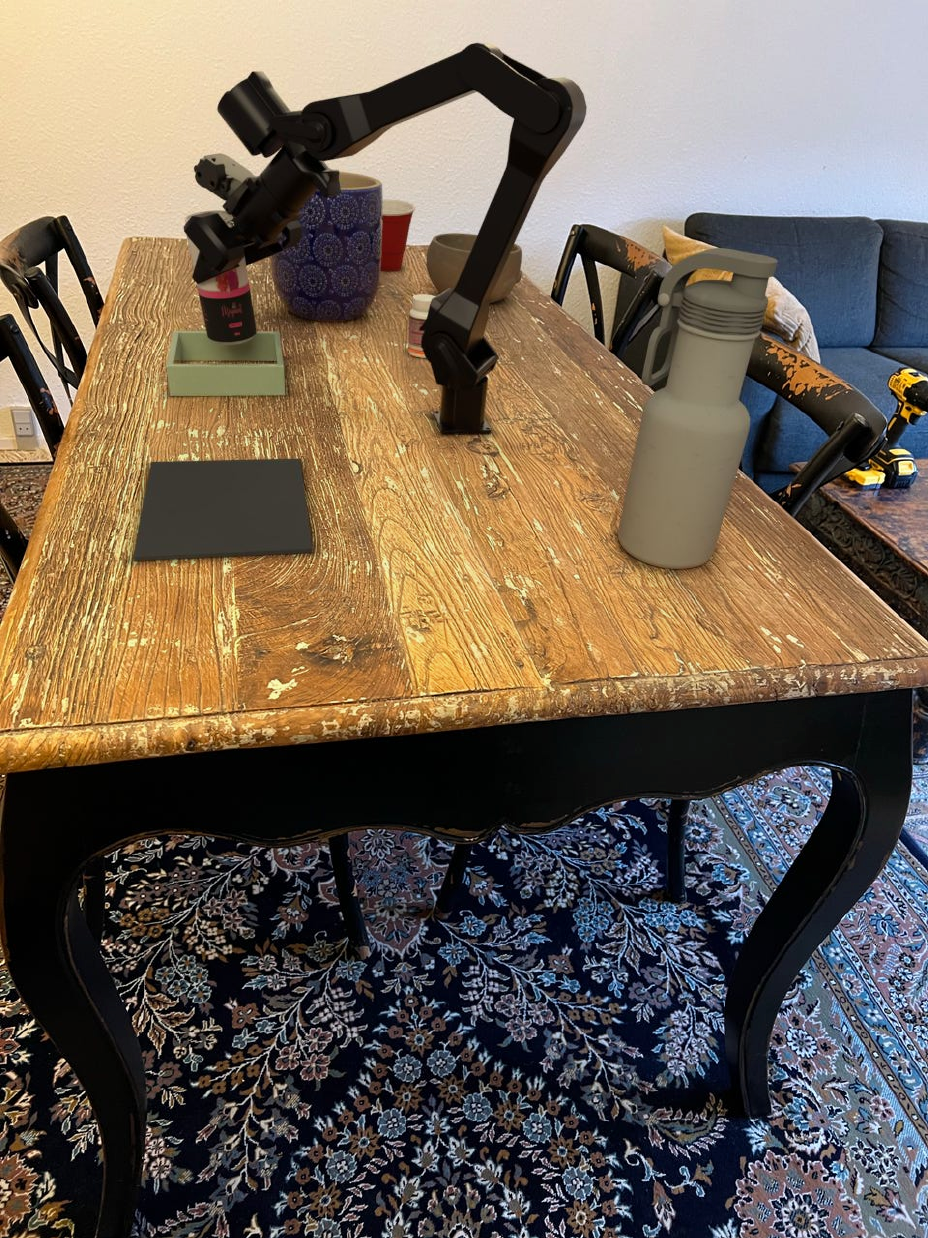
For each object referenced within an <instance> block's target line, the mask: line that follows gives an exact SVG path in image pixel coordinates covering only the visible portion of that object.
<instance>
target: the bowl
mask: <svg viewBox="0 0 928 1238" xmlns="http://www.w3.org/2000/svg"><path fill="white" fill-rule="evenodd" d="M477 235H478V234H472V233H461V232H460V233H459V232H458V233H457V232H456V233H455V232H452V233H440V234H437V235H434V236H433V237H432V240H431V242H430V243H429V246H428V247H427V250H426V260H425V261H426V262H425V263H426V264H425V265H426V271H427V273H428V277H429V279H430V282H431V283H432V284H433V286H434V288H435V290H437V292H438V293H439V294H441V293H442V292H444V291H445V290H447V289H449V288H451V289H452V290H454V288H455V287H456V285H457V283H458V280H459V278H460V276H461V273H462V271H463V268H464V266H465V264H466V261H467V259H468V257H469V254H470V252H471V249H472V247H473V245H474V242H475V240H476V238H477ZM522 261H523V249H522V247H521V246H520V245H518V244H517V243H514V246H513V248H512V250H511V252H510V254H509V257H508V259H507V261H506V263H505V266H504V268H503V270H502V272H501V274H500V277H499V279H498V281H497V283H496V285H495V288H494V290H493V292H492V294H491V298H490V304H493V303H496V302H499V301H502V300H503V299H505V298H506V297H507V296H508V295H509V294H511V292H512V291H513V289H514V287H515V286H516V285H517V284H519V283H520V282H521V280H522V277H523V271H522V269H521V268H522V264H523V263H522Z"/></svg>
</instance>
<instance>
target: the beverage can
mask: <svg viewBox="0 0 928 1238" xmlns="http://www.w3.org/2000/svg"><path fill="white" fill-rule="evenodd" d="M206 212H213V213H218V214H219V215H220V216H221V217H222V219H223V220H224V221H225V222H226V224H227V225H228V226H229V227H233V226H232V225H231V224H230V220H231V219H233V216H232V215H229V214H228V213H227V212H226V211H225V210H220V209H219V210H217V209H216V210H203V211H198V212H192V213H190V214H188V215H186V216H185V217H184V222H185V223H184V225H185V224H186V223H187V222H188V220H189V219H190V218H191V216H194V215H198V214H202V213H206ZM186 240H187V244H188V248H189V254H190V259H191V264H192V269H193V270H194V269H195V265H196V262H197V259H198V255H199V250H198V248H197V247H196V246H195V245H194V243H193V242H192V241H191V240H190V238H189V237H188V236H187V235H186ZM238 264H239V265H240V266H239V267H238V268H235V269H233V270H231V271H228V272H226V273H223V274H221V275H219V276H216V277H214V278H212V279H210V280H207V281H205V282H202V283H200V284H197V283H196V282H195V283H196V288H197V294H198V298H199V303H200V307H201V313H202V317H203V318H202V319H203V322H204V323H203V324H204V327H205V331H206V333H207V337H208V338H209V339H210V340H211V341H213V342H214V343H217V344H222V345H234V344H241V343H244V342H247V341H249V340H251V339H252V338H253V337H254V336H255V335H256V333H257V331H258V330H257V329H258V328H257V323H256V317H255V312H254V304H253V299H252V298H253V297H252V293H251V288H250V280H249V275H248V268H247V266H246V262H245V256H244V258H243V259H242V260H241V261H240V262H239V263H238Z"/></svg>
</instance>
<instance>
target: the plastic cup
mask: <svg viewBox="0 0 928 1238" xmlns="http://www.w3.org/2000/svg"><path fill="white" fill-rule="evenodd" d="M415 210H416V206H415V205H414V204H413V203H410V202H408V201H404V200H400V199H390V198H389V199H388V198H385V199H383V210H382V253H381V268H380V271H385V272H395V271H399V270H401V269H402V266H403V262H404V255H405V252H406V247H407V242H408V236H409V232H410V231H409V230H410V226H411V222H412V218H413V214H414V212H415Z"/></svg>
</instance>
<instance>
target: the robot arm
mask: <svg viewBox="0 0 928 1238" xmlns="http://www.w3.org/2000/svg"><path fill="white" fill-rule="evenodd" d="M476 93H478V94H480V95H481V96H483V97H484V98H485V99H486V100H487V101H489V102H490V103H491V104H492V105H493V106H495V107H496V108H497V109H498V110H500V111H501V112H502V113H504V114H506V115H507V116H508V117H510V118H512V119H513V121H512V126H511V129H510V134H509V141H508V152H507V161H506V165H505V169H504V171H503V174H502V175H501V178H500V180H499V183H498V185H497V188H496V189H495V192H494V195H493V197H492V199H491V202H490V205H489V207H488V209H487V212H486V214H485V216H484V219H483V221H482V223H481V226H480V228H479V230H478V233H477V234H476V235H477V238H476V240H475V242H474V245H473V247H472V249H471V252H470V254H469V257H468V259H467V261H466V264H465V266H464V268H463V271H462V273H461V276H460V278H459V280H458V283H457V285H456V287H455V288H454V290H452V289H451V288H449V289H447V290H445V291H444V292H442V293H438V294H437V295H435V296H436V297H434V298H433V299H432V301H431V304H430V307H429V311H428V316H427V319H426V320H425V322H424V324H423V325H422V326H421V327H420V328H419V330H420V331H424V333H423V335H422V339H421V348H422V349H423V352H424V355H425V357H426V358H425V359H427V361H428V363H430V367H431V371H432V374H433V376H434V381H435V383H436V385H438V386H441V391H440V393H441V394H440V409H439V410H433V411H432V416H433V419H434V420H435V423H436V425H437V427H438V429H439V431H440V433H441V434H444V435H459V434H460V435H462V434H463V435H464V434H469V435H470V434H492V431H493V428H492V427H491V425H490V423H489V421H488V420H487V418H486V407H487V396H488V383H489V377H488V376H487V375H489V373H491V372H493V371H494V370H495V367H496V365H497V363H498V360H499V358H500V355H499V354H498V353H497V351H496V350H495V349H494V348H493V346H492V345H491V344H490V342H489V341H488V340H487V338H486V337H485V332H486V328H487V324H488V320H489V315H490V314H489V313H490V305H491V303H490V298H491V294H492V292H493V290H494V288H495V285H496V283H497V281H498V279H499V277H500V274H501V272H502V270H503V268H504V266H505V263H506V261H507V259H508V257H509V254H510V252H511V250H512V248H513V246H514V244H516V241H517V239H518V236H519V235H520V232H521V231H522V228H523V225H524V224H525V222H526V221H525V220H526V219H527V217H528V215H529V213H530V210H531V208H532V205H533V203H534V201H535V199H536V197H537V195H538V193H539V190H540V189H541V186H542V184H543V182H544V181H545V178H546V177H547V175H548V174H549V173H550V172H551V170H552V169H553V168H554V166H556V164H557V163H558V162H559V160H561V158H562V156H563V155H564V154H565V152H566V150H567V149H568V147H569V146H570V144H571V143H572V142H573V140H574V139H575V137H576V135H577V134H578V132H579V131H580V129H581V128H582V126H583V124H584V122H585V120H586V116H587V109H588V108H587V107H588V106H587V102H586V98H585V94H584V92H583V91H582V89H581V87H580V86H579V84H578V83H576V82H575V81H573V79H570V78H567V77H548V76H546V75H545V74H543V73H542V72H540V71H538V70H536V69H534V68H532V67H530V66H529V65H527V64H524V63H523V62H521V61H519V60H517V59H515V58H513V57H511V56H510V55H508V54H506V53H505V52H503V51H502V50H501V49H500V48H499V47H498V46H497V45H495V44H493V43H489V42H473V43H470V44H468V45H467V46H466V47H465V48H463V49H462V50H461V51H458V52H456V53H455V54H452V55H449V56H447V57H445V58H443V59H441V60H438V61H436V62H434V63H431V64H429V65H427V66H424V67H422V68H420V69H418V70H415V71H412V72H411V73H408V74H406V75H404V76H401V77H399V78H397V79H394V80H392V81H390V82H388V83H386V84H383V85H381V86H379V87H377V88H374V89H372V90H370V91H365V92H359V93H353V94H347V95H341V96H336V97H331V98H325V99H319V100H313V101H311V102H309V103H308V104H306V105H305V106H303V108H302V109H300V110H291V109H290V108H289V107H288V105H287V104H286V103H285V101H284V100H283V99H282V97H281V96H280V95H279V93H278V92H277V91H276V90H275V88H274V87H273V85H272V83H271V81H270V79H269V77H268V76H267V74H265V72H264V71H262V70H252V71H251V72H250V73H249V75H248V77H247V78H245V79H243V80H241V81H239V82H238V83H237V84H235V85H234V86H233V87H232V88H231V89H230V90H227V91H225V92H224V94H222V96H221V98H220V100H219V101H218V104H217V108H216V111H217V113H218V114H219V115H220V117H221V118H222V120H223V121H224V122H225V123H226V124H227V126H228V127H229V128H230V130H231V131H232V133H233V134H234V135H235V137H236V138H237V139H238V140H239V141H240V142H241V144H242V145H243V147H244V148H245V149H246V150H247V151H248V153H249V154H250V155H251V156H252V157H257V156H259V155H261V156H262V157H263V158H265V159H269V158H270V157H272V156H273V158H272V159H271V160H270V161H269V162H268V164H267V165H266V166H265V168H264V169H262V171H261V173H260V174H259V175H258V176H257V175H255V174H254V173H253V172H252V171H250V170H249V169H247V168H246V167H245V166H244V165H242V164H240V162H237V161H236V160H235V159H233V158H232V157H230V156H229V155H227V154H224V153H220V152H219V153H213V154H206V155H203V157H202V158H199V162H198V163H197V164H195V165H194V166H193V172H194V173H195V175H194V179H195V182H196V183H197V185H199V186H200V187H201V188H202V189H206V190H207V191H208V192H209V193H212V194H214V195H215V196H217V197H218V198H220V199H221V200H223V201H225V202H223V205H221V207H222V208H223V210H224V211H226V212H227V213H228V214H229V215H232V216H233V219H231V220H230V224H231V225H232V226H233V227H229V226H228V225H227V224H226V222H225V221H224V220H223V219H222V217H221V216H220V215H219V214H218V213H213V212H206V213H202V214H198V215H194V216H191V218H190V219H189V220H188V222H187V223H186V222H185V223H186V224H185V223H184V226H183V233H184V234H185V235H186V237H187V236H188V237H189V238H190V240H191V241H192V242H193V243H194V245H195V246H196V247H197V248H198V250H199V255H198V259H197V262H196V265H195V269H193V271H192V272H193V273H192V275H191V279H192V280H193V282H195V283H197V284H200V283H202V282H205V281H207V280H210V279H212V278H214V277H216V276H219V275H221V274H223V273H226V272H228V271H231V270H233V269H235V268H238V267H239V266H240V265H239V264H238V263H239V262H240V261H241V260H242V259H243V258H244V256H245V262H246V267H248V266H250V265H252V264H255V263H258V262H260V261H263V260H265V259H268V258H270V256H272V255H275V254H277V253H280V252H282V251H283V248H284V249H287V248H290V247H293V246H295V245H296V244H297V243H298V242H299V240H300V239H301V238H302V237H303V234H302V225H301V224H300V223H299V222H298V219H299V218H300V217H301V216H302V213H301V211H300V210H301V208H302V207H303V206H304V205H305V204H306V203H307V202H308V200H309V199H310V198H311V197H312V196H313V195H314V194H315V192H316V191H317V190H319V191H320V193H321V194H322V195H323V197H325V198H328V197H331V196H335V195H338V194H340V193H341V187H340V182H339V174H340V172H341V171H340V170H339V169H332V168H330V167H329V166H328V165H327V164H326V163H325V162H327V161H333V160H338V159H343V158H348V157H352V156H355V155H356V154H358V153H360V152H361V151H362V150H364V149H365V148H367V147H368V146H370V145H371V144H373V143H374V142H375V141H377V140H378V139H379V138H381V136H382V135H384V133H386V132H387V131H389V130H390V129H391V128H393V127H395V126H397V125H399V124H403V123H405V122H407V121H409V120H412V119H414V118H417V117H419V116H420V115H424V114H427V113H428V112H432V111H435V110H436V109H439V108H441V107H443V106H445V105H448V104H450V103H453V102H455V101H458V100H460V99H463V98H465V97H467V96H470V95H473V94H476ZM281 232H282V233H283V234H284V235H285V237H286V239H285V240H284V241H283V243H282V246H283V247H282V246H281V244H280V243H279V241H280V240H281V238H282V237H283V236H282V235H281ZM197 284H196V285H197Z"/></svg>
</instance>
